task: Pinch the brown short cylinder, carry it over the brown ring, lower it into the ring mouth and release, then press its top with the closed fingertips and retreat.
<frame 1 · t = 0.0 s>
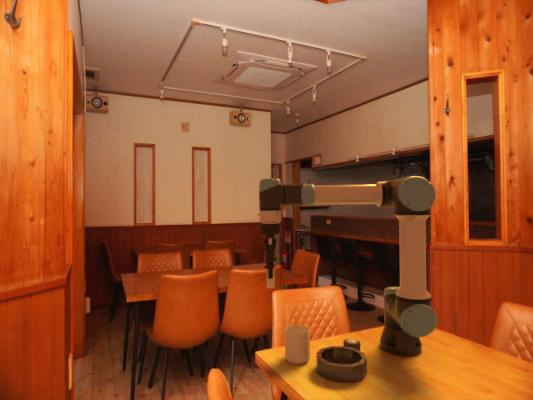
hand: (271, 283, 128), 28 cm above the table, fingers open, 13 cm apart
brown ring: (341, 370, 121), on the table
brown short cylinder: (351, 355, 133), on the table
mug: (297, 358, 132), on the table
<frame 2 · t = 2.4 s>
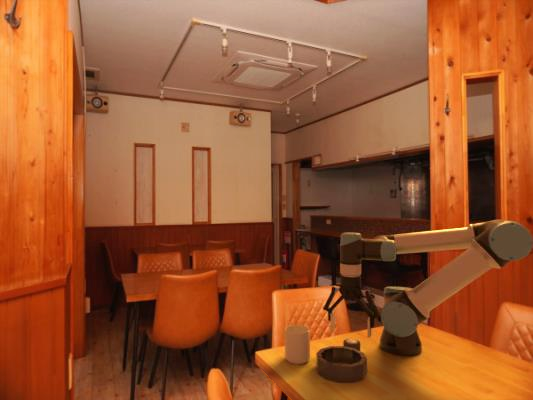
hand: (350, 333, 133), 8 cm above the table, fingers open, 13 cm apart
nothing on the table moved.
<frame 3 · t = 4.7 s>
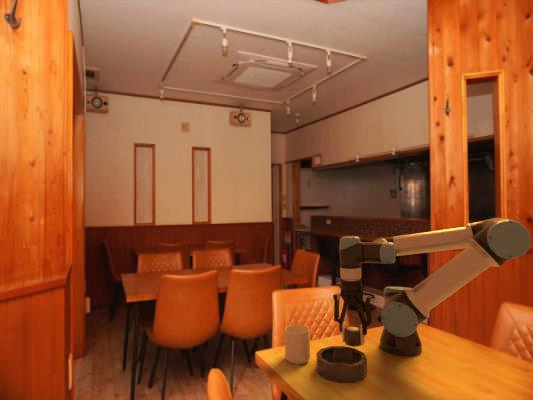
hand: (353, 342, 133), 5 cm above the table, fingers closed on brown short cylinder, 6 cm apart
brown short cylinder: (353, 343, 133), point 5 cm above the table, touching gripper
everything else where it was.
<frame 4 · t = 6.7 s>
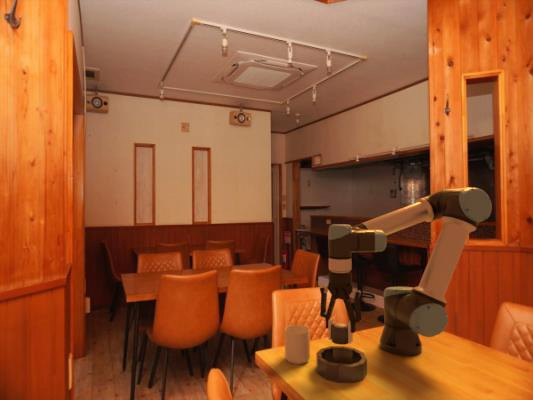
hand: (340, 340, 121), 10 cm above the table, fingers closed on brown short cylinder, 6 cm apart
brown short cylinder: (340, 341, 121), point 10 cm above the table, touching gripper
everything else where it was.
when the fingers open (1 cm above the table, at t = 9.7 s): brown short cylinder stays where it is, resting in brown ring.
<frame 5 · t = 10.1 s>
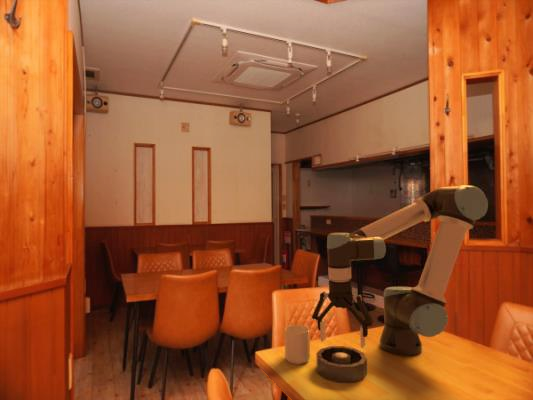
hand: (342, 343, 121), 9 cm above the table, fingers open, 13 cm apart
brown short cylinder: (341, 370, 121), resting in brown ring
everything else where it was.
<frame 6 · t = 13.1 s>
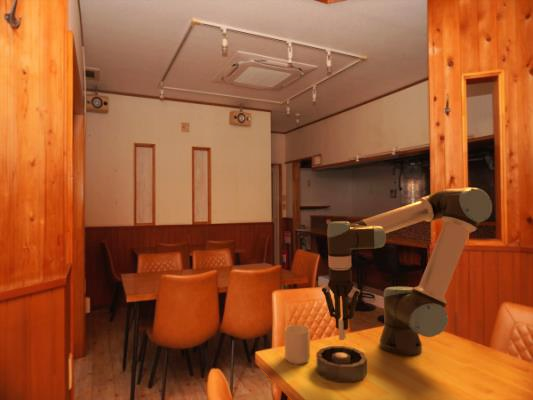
hand: (342, 338, 121), 11 cm above the table, fingers closed
nothing on the table moved.
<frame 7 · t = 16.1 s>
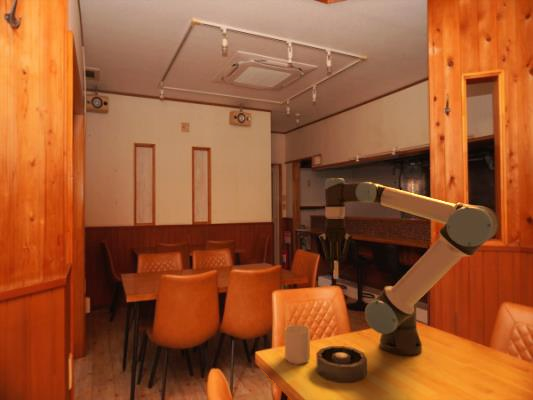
hand: (335, 278, 142), 26 cm above the table, fingers closed
nothing on the table moved.
at the end: brown short cylinder inside the target area on the brown ring (0.0 cm from its centre), point 0.0 cm above the brown ring's base; brown short cylinder tilted 0°; the gripper is holding nothing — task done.
